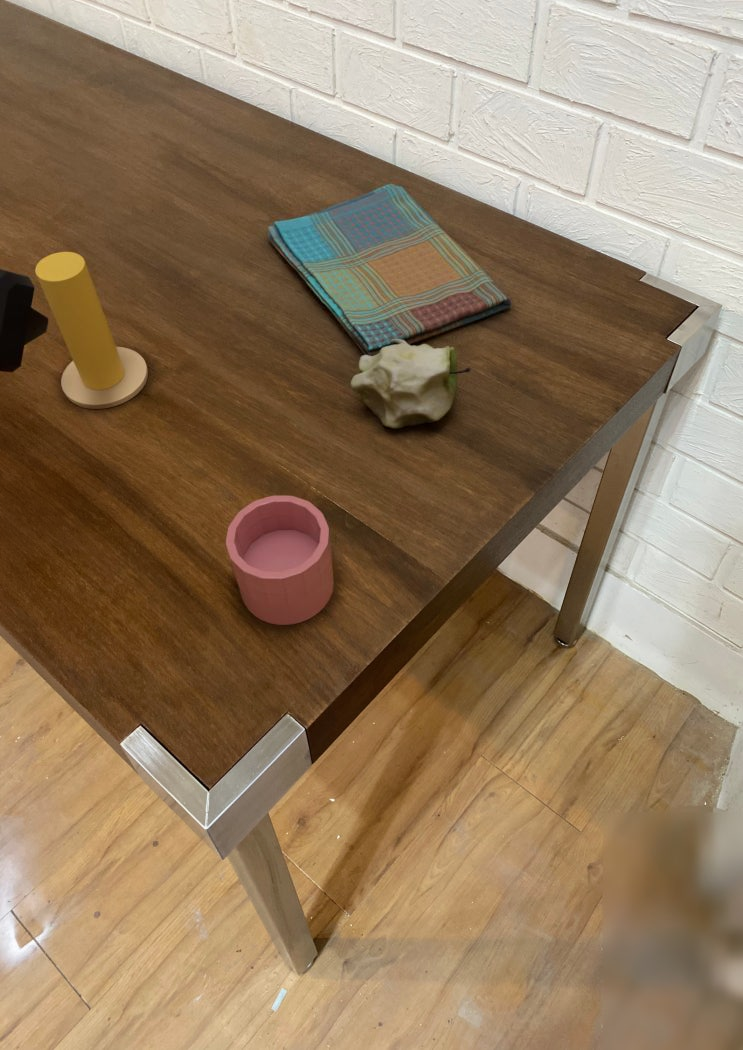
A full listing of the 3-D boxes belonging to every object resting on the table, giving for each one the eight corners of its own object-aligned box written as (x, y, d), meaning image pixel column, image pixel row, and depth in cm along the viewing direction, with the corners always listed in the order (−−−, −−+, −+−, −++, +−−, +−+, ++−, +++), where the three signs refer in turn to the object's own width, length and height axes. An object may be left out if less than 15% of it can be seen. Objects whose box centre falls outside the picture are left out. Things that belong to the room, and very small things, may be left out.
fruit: (474, 408, 73) (490, 354, 65) (401, 464, 70) (409, 415, 62) (407, 346, 75) (415, 288, 68) (334, 398, 72) (334, 344, 65)
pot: (254, 638, 57) (241, 591, 52) (230, 562, 61) (215, 512, 56) (346, 607, 59) (342, 559, 53) (316, 534, 63) (310, 483, 57)
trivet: (69, 418, 71) (66, 414, 70) (58, 363, 75) (55, 358, 75) (155, 395, 72) (154, 391, 72) (139, 342, 77) (138, 337, 76)
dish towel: (400, 197, 91) (400, 177, 89) (514, 308, 79) (517, 287, 77) (266, 241, 87) (263, 220, 85) (365, 366, 74) (365, 345, 72)
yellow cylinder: (111, 393, 72) (67, 284, 62) (73, 384, 73) (25, 275, 63) (132, 365, 74) (93, 256, 64) (95, 357, 75) (52, 247, 65)
